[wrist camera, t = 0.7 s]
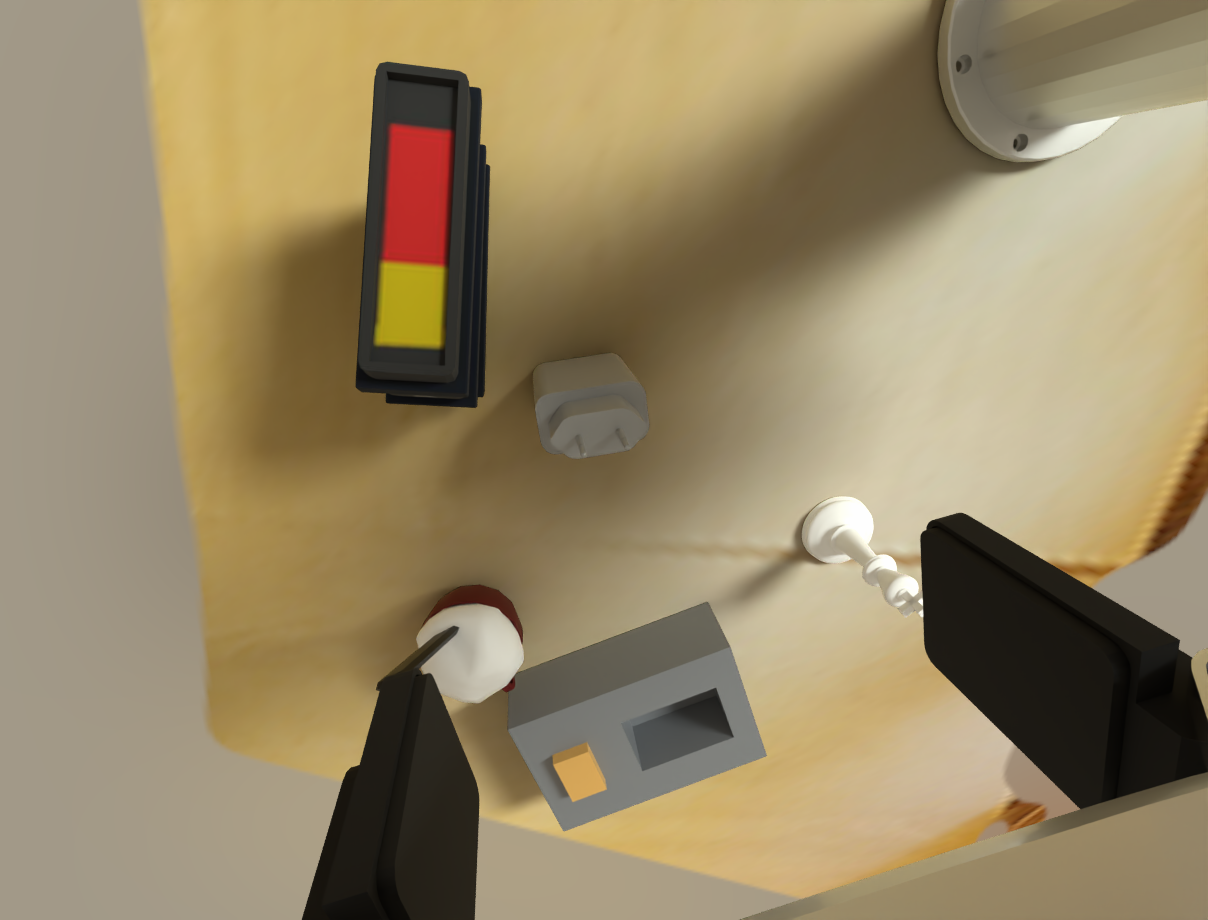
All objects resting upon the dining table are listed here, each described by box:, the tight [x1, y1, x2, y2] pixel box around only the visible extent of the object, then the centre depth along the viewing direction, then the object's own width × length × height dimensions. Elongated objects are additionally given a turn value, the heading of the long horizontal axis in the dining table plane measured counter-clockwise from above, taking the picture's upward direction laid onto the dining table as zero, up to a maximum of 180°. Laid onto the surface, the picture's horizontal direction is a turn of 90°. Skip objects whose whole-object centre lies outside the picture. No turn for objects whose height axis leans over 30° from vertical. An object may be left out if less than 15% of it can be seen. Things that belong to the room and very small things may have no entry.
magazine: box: [356, 62, 490, 408], centre depth 28 cm, size 4×13×15 cm, turn 175°
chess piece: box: [802, 496, 923, 618], centre depth 38 cm, size 5×5×10 cm
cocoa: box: [376, 585, 524, 703], centre depth 35 cm, size 10×6×12 cm
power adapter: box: [533, 353, 649, 459], centre depth 31 cm, size 3×5×12 cm, turn 98°
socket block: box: [508, 602, 767, 831], centre depth 42 cm, size 15×10×6 cm, turn 110°
